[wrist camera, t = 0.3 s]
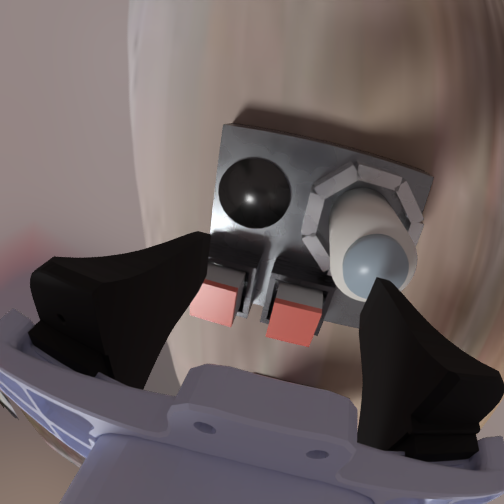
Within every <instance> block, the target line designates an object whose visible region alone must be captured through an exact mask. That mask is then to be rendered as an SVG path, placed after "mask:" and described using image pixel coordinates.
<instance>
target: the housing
mask: <svg viewBox="0 0 504 504" xmlns="http://www.w3.org/2000/svg"><path fill="white" fill-rule="evenodd" d="M433 178H434V177H432V176H431V175H429V174H428V173H427V172H425V171H423V170H420V169H417V168H414V167H412V166H409V165H406V164H403V163H400V162H397V161H394V160H391V159H387V158H384V157H381V156H378V155H374V154H371V153H368V152H364V151H361V150H357V149H354V148H350V147H346V146H342V145H339V144H335V143H331V142H327V141H323V140H318V139H314V138H310V137H305V136H301V135H296V134H291V133H286V132H281V131H276V130H271V129H265V128H260V127H254V126H248V125H241V124H235V123H230V124H224V125H223V130H222V137H221V145H220V152H219V160H218V168H217V176H216V185H215V193H214V202H213V211H212V221H211V231H210V234H211V241H210V250H209V259H208V262H209V263H213V264H217V265H221V266H225V267H229V268H232V269H236V270H240V271H244V272H246V275H245V281H244V287H243V293H242V299H241V305H240V308H239V310H238V312H237V315H236V316H240V317H244V318H247V317H248V314H249V311H250V309H251V306H252V303H254V304H258V305H262V306H263V311H262V315H261V319H260V322H263V323H266V324H269V321H270V318H271V314H272V310H273V306H274V302H275V298H276V295H277V291H278V287H279V284H280V281H284V282H288V283H292V284H296V285H300V286H304V287H308V288H312V289H316V290H320V291H323V302H322V315H321V318H320V320H319V323H318V325H317V328H316V330H315V333H314V335H316V336H318V333H319V331H320V328H321V326H322V323H323V321H327V322H332V323H336V324H341V325H345V326H350V327H355V328H359V321H360V313H361V311H362V309H363V306H364V304H365V302H363V301H358V300H355V299H353V298H350V297H349V296H347V295H345V294H344V293H343V292H342V291H341V290H340V289H339V288H338V287H337V286H336V284H335V282H334V280H333V278H332V275H331V271H330V241H329V213H330V210H331V207H332V205H333V203H334V202H335V201H336V199H337V198H338V197H339V196H340V195H342V194H343V193H345V192H347V191H349V190H351V189H355V188H368V189H372V190H375V191H377V192H378V193H380V194H381V195H383V196H384V197H385V198H386V200H387V201H388V202H389V204H390V205H391V207H392V208H393V210H394V211H395V213H396V215H397V216H398V218H399V219H400V221H401V222H402V224H403V226H404V227H405V229H406V230H407V232H408V234H409V235H410V237H411V239H412V240H413V242H414V244H415V247H416V245H417V242H418V240H419V237H420V234H421V232H422V229H423V226H424V224H423V222H422V220H424V218H423V216H422V212H423V209H424V207H425V204H426V201H427V197H428V194H429V191H430V188H431V185H432V181H433Z"/></svg>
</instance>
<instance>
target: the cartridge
mask: <svg viewBox="0 0 504 504" xmlns="http://www.w3.org/2000/svg"><path fill="white" fill-rule="evenodd" d="M329 241H330V271H331V275H332V278H333V280H334V282H335V284H336V286H337V287H338V288H339V289H340V290H341V291H342V292H343V293H344V294H345V295H347V296H349V297H350V298H353V299H355V300H358V301H363V302H366V300H367V298H368V295H369V293H370V291H371V289H372V286H373V284H374V282H375V279H376V277H379V278H383V279H386V280H390V281H391V282H392V283H393V284H394V285H395V286H396V287H397V288H398V289H399V290H400V291H402V290H403V289H404V288H405V287H406V286H407V285H408V283H409V282H410V281H411V279H412V277H413V275H414V273H415V270H416V266H417V251H416V247H415V244H414V242H413V240H412V239H411V237H410V235H409V234H408V232H407V230H406V229H405V227H404V226H403V224H402V222H401V221H400V219H399V218H398V216H397V215H396V213H395V211H394V210H393V208H392V207H391V205H390V204H389V202H388V201H387V200H386V198H385V197H384V196H383V195H381V194H380V193H378V192H377V191H375V190H372V189H368V188H355V189H351V190H349V191H347V192H345V193H343V194H342V195H340V196H339V197H338V198H337V199H336V201H335V202H334V203H333V205H332V207H331V210H330V213H329Z"/></svg>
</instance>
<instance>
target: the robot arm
mask: <svg viewBox="0 0 504 504" xmlns="http://www.w3.org/2000/svg"><path fill="white" fill-rule="evenodd" d="M210 241H211V234H207V233H203V232H199V231H197V232H193V233H190V234H187V235H184V236H181V237H179V238H176V239H173V240H170V241H168V242H165V243H162V244H159V245H156V246H152V247H149V248H146V249H143V250H139V251H135V252H130V253H125V254H119V255H111V256H104V257H91V258H71V257H52V258H51V259H50V260H48V261H47V262H46V263H44V264H43V265H42V266H40V267H39V268H37V269H36V270H35V271H34V272H33V273H32V275H31V278H30V288H31V293H32V296H33V300H34V303H35V306H36V309H37V312H38V315H39V318H40V321H39V322H38V323H37V324H36V325H34V323H33V322H32V321H31V320H30V319H29V318H28V317H26V316H25V315H23V314H22V313H20V312H19V311H17V310H16V309H14V308H12V309H11V310H10V311H9V312H8V313H7V314H6V315H4V316H3V317H2V318H1V319H0V389H1V390H2V391H3V392H4V393H5V394H6V395H8V396H9V397H10V398H11V399H12V400H13V401H14V402H15V403H16V404H17V405H19V406H20V407H21V408H22V409H23V410H24V411H25V412H27V413H28V414H29V415H30V416H31V417H32V418H34V419H35V420H36V421H37V422H38V423H40V424H41V425H42V426H43V427H44V428H46V429H47V430H48V431H49V432H51V433H52V434H53V435H54V436H56V437H57V438H58V439H60V440H61V441H62V442H64V443H65V444H66V445H68V446H69V447H71V448H72V449H73V450H75V451H76V452H78V453H79V454H81V455H82V456H84V457H85V458H86V459H85V461H84V463H83V464H82V466H81V468H80V469H79V471H78V473H77V474H76V476H75V478H74V479H73V481H72V483H71V484H70V486H69V488H68V489H67V491H66V493H65V494H64V496H63V498H62V500H61V501H60V503H59V504H487V503H488V502H490V501H492V500H494V499H496V498H497V497H499V496H500V495H502V494H504V441H503V437H502V436H495V437H486V438H482V439H480V440H478V441H477V437H476V434H477V433H479V432H480V426H479V422H480V421H481V420H482V419H483V418H484V417H485V416H487V415H488V414H489V413H490V412H491V411H492V410H493V409H494V408H495V406H496V405H497V404H498V403H499V402H500V400H501V398H502V396H503V394H504V382H503V380H502V377H501V375H500V373H499V371H497V370H495V369H493V368H491V367H489V366H487V365H485V364H483V363H481V362H480V361H478V360H476V359H475V358H473V357H471V356H470V355H468V354H467V353H465V352H464V351H462V350H461V349H459V348H458V347H457V346H455V345H454V344H453V343H451V342H450V341H449V340H448V339H446V338H445V337H444V336H443V335H442V334H441V333H439V332H438V331H437V330H436V329H435V328H434V327H433V326H432V325H431V324H430V323H429V322H428V321H427V320H426V319H425V318H424V317H423V316H422V315H421V314H420V313H419V312H418V311H417V310H416V309H415V307H414V306H413V305H412V304H411V303H410V302H409V301H408V299H407V298H406V297H405V296H404V295H403V294H402V293H401V291H400V290H399V289H398V288H397V287H396V286H395V285H394V284H393V283H392V282H391V281H390V280H386V279H383V278H379V277H376V279H375V282H374V284H373V286H372V289H371V291H370V293H369V295H368V298H367V300H366V302H365V304H364V306H363V309H362V311H361V313H360V321H359V340H360V351H361V362H362V374H363V387H362V402H361V411H360V419H359V426H358V432H357V408H356V407H355V406H354V404H353V403H352V402H351V400H350V399H349V398H347V397H345V396H342V395H339V394H337V393H334V392H331V391H329V390H324V389H319V388H314V387H309V386H305V385H300V384H296V383H291V382H287V381H283V380H279V379H275V378H271V377H267V376H263V375H259V374H255V373H252V372H248V371H244V370H241V369H237V368H234V367H230V366H223V365H215V364H204V365H201V366H198V367H194V368H191V369H190V370H189V372H188V374H187V376H186V378H185V380H184V382H183V384H182V386H181V388H180V390H179V392H178V394H177V396H172V395H167V394H161V393H156V392H151V391H146V390H143V389H144V386H145V384H146V382H147V380H148V377H149V375H150V373H151V370H152V368H153V366H154V364H155V362H156V360H157V358H158V356H159V354H160V351H161V349H162V347H163V345H164V344H165V342H166V340H167V338H168V336H169V334H170V333H171V331H172V329H173V328H174V326H175V325H176V323H177V322H178V320H179V319H180V318H181V316H182V315H183V313H184V312H185V311H186V309H187V308H188V306H189V305H190V303H191V302H192V301H193V299H194V298H195V296H196V295H197V293H198V292H199V290H200V288H201V286H202V284H203V282H204V280H205V278H206V276H207V269H208V259H209V250H210Z"/></svg>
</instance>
